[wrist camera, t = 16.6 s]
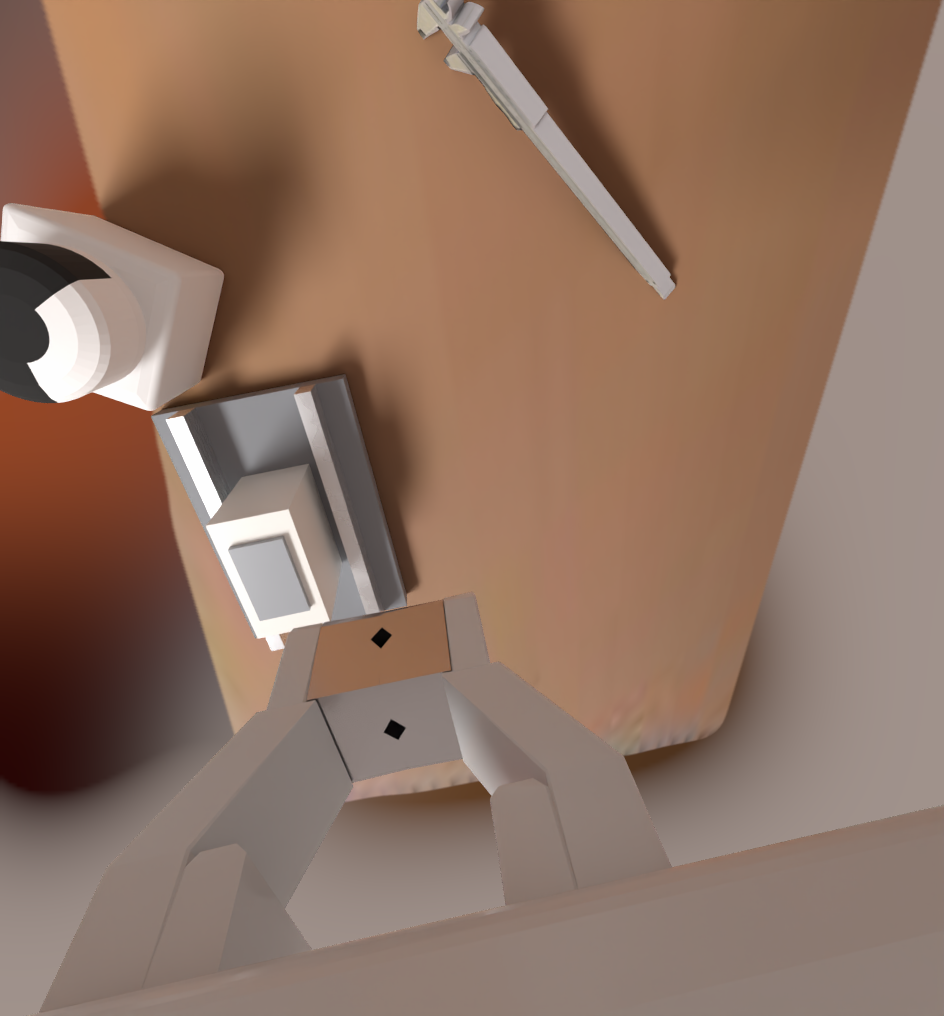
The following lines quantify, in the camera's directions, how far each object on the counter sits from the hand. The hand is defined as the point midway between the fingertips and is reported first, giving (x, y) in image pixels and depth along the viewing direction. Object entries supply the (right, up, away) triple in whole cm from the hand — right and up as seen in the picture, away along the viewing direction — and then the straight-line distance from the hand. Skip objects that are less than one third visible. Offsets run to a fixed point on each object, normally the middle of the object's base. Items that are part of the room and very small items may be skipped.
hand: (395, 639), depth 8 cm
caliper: (+6, +22, +22) cm, 32 cm away
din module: (-11, +1, +27) cm, 29 cm away
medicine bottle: (-18, +14, +22) cm, 31 cm away
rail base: (-11, +2, +28) cm, 31 cm away
